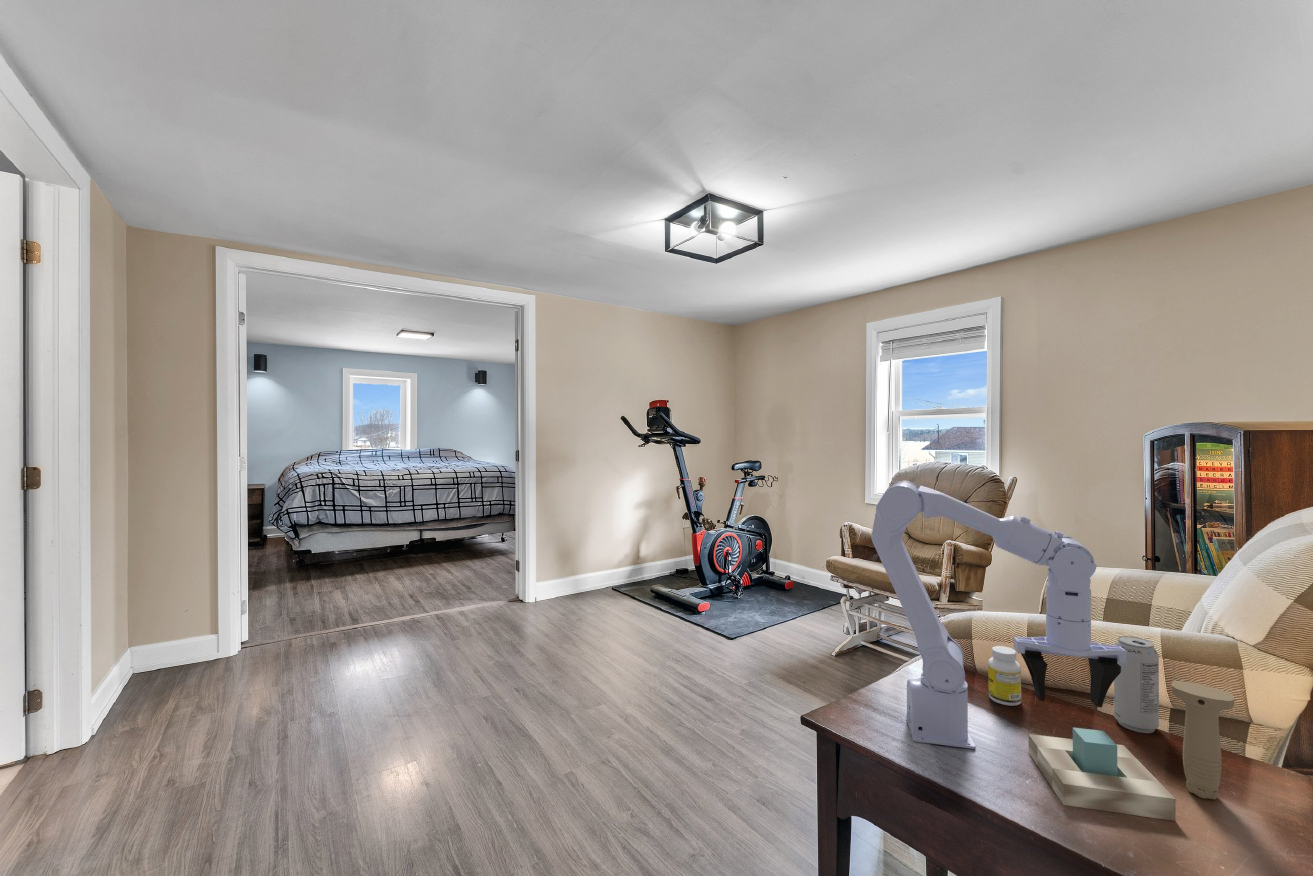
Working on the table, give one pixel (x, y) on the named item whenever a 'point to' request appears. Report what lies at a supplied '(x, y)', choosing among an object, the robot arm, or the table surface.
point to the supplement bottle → (1004, 676)
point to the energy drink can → (1137, 686)
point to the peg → (1094, 752)
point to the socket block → (1101, 781)
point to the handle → (1202, 735)
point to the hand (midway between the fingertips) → (1067, 701)
